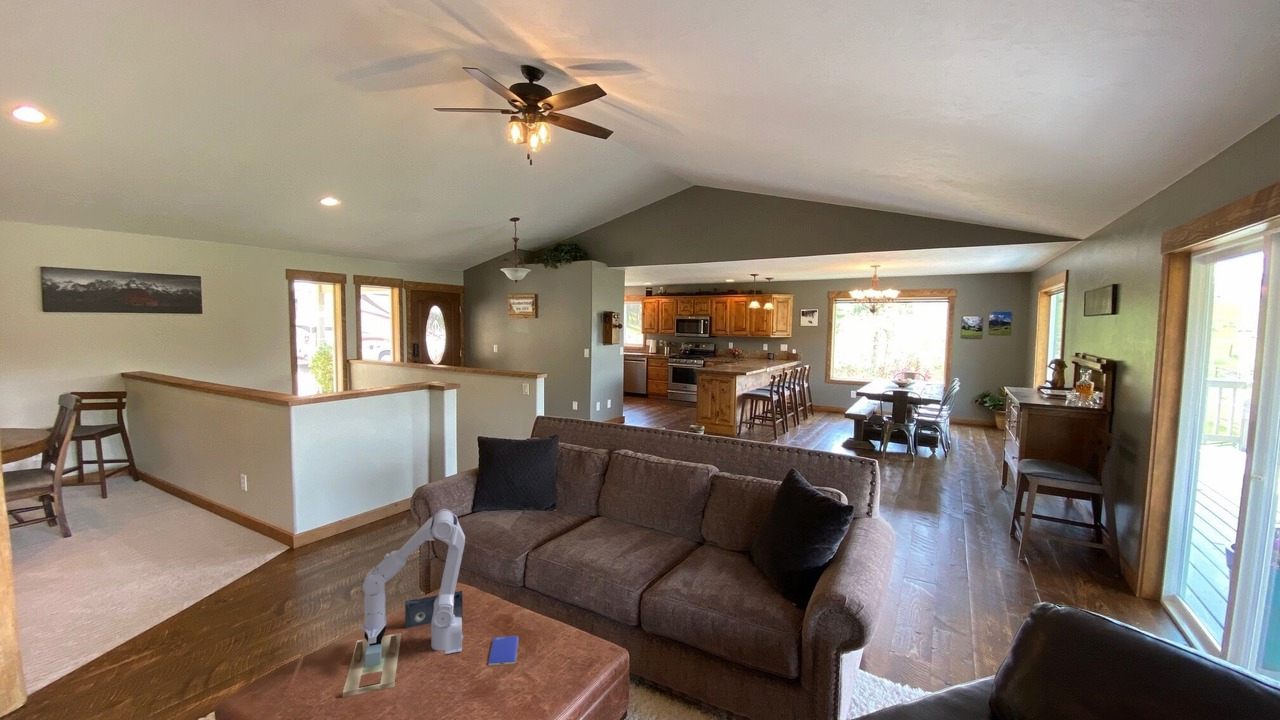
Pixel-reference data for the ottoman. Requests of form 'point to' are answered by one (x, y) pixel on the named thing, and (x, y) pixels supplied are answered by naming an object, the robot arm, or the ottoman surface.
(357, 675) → the cream flat tray
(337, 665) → the ottoman surface
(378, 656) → the blue block
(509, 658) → the blue book
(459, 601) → the vhs cassette tape
